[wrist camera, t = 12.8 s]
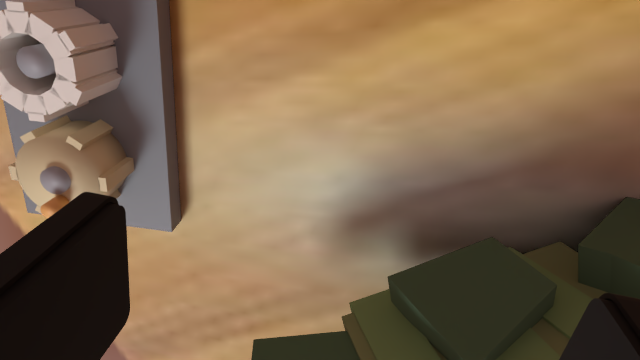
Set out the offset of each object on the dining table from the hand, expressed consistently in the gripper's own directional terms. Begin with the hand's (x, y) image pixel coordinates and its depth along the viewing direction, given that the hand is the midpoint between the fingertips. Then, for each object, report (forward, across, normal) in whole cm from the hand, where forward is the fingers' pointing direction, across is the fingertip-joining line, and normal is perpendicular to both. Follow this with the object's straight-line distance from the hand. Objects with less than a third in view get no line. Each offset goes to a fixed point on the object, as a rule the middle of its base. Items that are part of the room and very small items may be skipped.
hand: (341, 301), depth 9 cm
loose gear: (+24, +21, +2) cm, 32 cm away
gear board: (+26, +21, +6) cm, 34 cm away
